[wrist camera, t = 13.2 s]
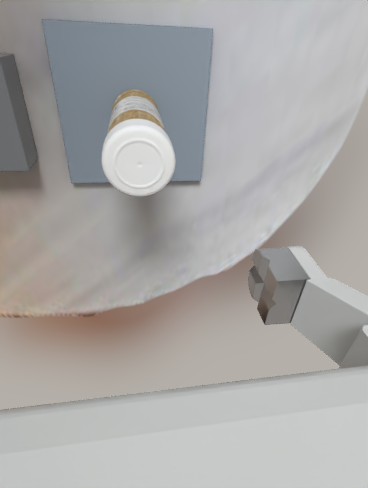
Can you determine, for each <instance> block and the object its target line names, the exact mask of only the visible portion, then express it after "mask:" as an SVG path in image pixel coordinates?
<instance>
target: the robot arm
mask: <svg viewBox="0 0 368 488" xmlns="http://www.w3.org/2000/svg"><path fill="white" fill-rule="evenodd" d="M252 261H253V263H254V266H253V267H252V268H251V269H250V271H249V276H248V286H249V290H250V294H251V296H252V298H253V299H255V300H256V301H257V302H259V303H258V308H257V309H258V311H259V313H260V316H261V318H262V320H263V322H264V324H265V325H270V324H285V323H291V325H292V326H293V327H294V328H295V329H297V330H298V331H299V332H300V333H301V334H303V335H304V336H305V337H306V338H307V339H309V340H310V341H311V342H312V343H313V344H315V345H316V346H317V347H318V348H319V349H320V350H322V351H323V352H324V353H325V354H326V355H328V356H329V357H330V358H331V359H332V360H334V361H335V362H336V363H337V364H338V365H340V367H339V369H332V370H324V371H316V372H308V373H300V374H291V375H283V376H276V377H267V378H258V379H251V380H242V381H235V382H226V383H218V384H210V385H202V386H194V387H186V388H177V389H169V390H161V391H153V392H144V393H137V394H128V395H120V396H111V397H104V398H95V399H87V400H78V401H71V402H62V403H53V404H45V405H37V406H30V407H20V408H13V409H4V410H0V488H368V296H366V295H364V294H362V293H360V292H358V291H356V290H355V289H353V288H351V287H349V286H347V285H345V284H343V283H341V282H339V281H337V280H335V279H333V278H327V277H326V275H325V274H324V273H323V271H322V270H321V269H320V268H319V267H318V265H317V264H316V263H315V261H314V260H313V259H312V258H311V256H310V255H309V254H308V252H307V251H306V250H305V249H304V248H303V247H301V246H293V247H285V248H271V249H255V251H254V253H253V256H252Z"/></svg>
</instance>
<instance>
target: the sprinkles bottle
mask: <svg viewBox="0 0 368 488" xmlns="http://www.w3.org/2000/svg"><path fill="white" fill-rule="evenodd" d="M175 164H176V159H175V153H174V149H173V146H172V143H171V141H170V138H169V137H168V135H167V134H166V132H165V130H164V126H163V123H162V120H161V117H160V114H159V111H158V108H157V105H156V103H155V101H154V100H153V98H152V97H151V96H149V95H148V94H147V93H145V92H143V91H141V90H136V89H133V90H127V91H125V92H123V93H121V94H120V95H119V96H118V97H117V98H116V100H115V101H114V104H113V106H112V114H111V118H110V123H109V128H108V133H107V136H106V138H105V141H104V144H103V149H102V168H103V171H104V174H105V176H106V177H107V179H108V181H109V182H110V183H111V184H112V185H113V186H114V187H115V188H116V189H118V190H119V191H121V192H123V193H125V194H128V195H131V196H137V197H140V196H148V195H152V194H154V193H156V192H158V191H160V190H161V189H163V188H164V187H165V186H166V185H167V184H168V182H169V181H170V180H171V178H172V176H173V173H174V170H175Z"/></svg>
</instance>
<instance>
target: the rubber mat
mask: <svg viewBox="0 0 368 488" xmlns="http://www.w3.org/2000/svg"><path fill="white" fill-rule="evenodd" d="M42 23H43V29H44V34H45V40H46V45H47V51H48V56H49V62H50V67H51V73H52V79H53V84H54V90H55V95H56V101H57V106H58V112H59V117H60V123H61V128H62V134H63V139H64V145H65V150H66V156H67V161H68V167H69V172H70V178H71V183H103V182H109V181H108V179H107V177H106V176H105V174H104V171H103V168H102V149H103V144H104V141H105V138H106V136H107V133H108V128H109V123H110V118H111V114H112V106H113V104H114V101H115V100H116V98H117V97H118V96H119V95H120V94H121V93H123V92H125V91H127V90H133V89H136V90H141V91H143V92H145V93H147V94H148V95H149V96H151V97H152V98H153V100H154V101H155V103H156V105H157V108H158V111H159V114H160V117H161V120H162V123H163V126H164V130H165V132H166V134H167V135H168V137H169V138H170V141H171V143H172V146H173V149H174V153H175V159H176V164H175V170H174V173H173V176H172V178H171V180H170V181H201V173H202V161H203V148H204V136H205V124H206V111H207V99H208V86H209V74H210V61H211V49H212V36H213V29H211V28H192V27H174V26H155V25H137V24H118V23H99V22H81V21H62V20H44V19H42Z"/></svg>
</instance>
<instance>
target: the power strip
mask: <svg viewBox="0 0 368 488" xmlns="http://www.w3.org/2000/svg"><path fill="white" fill-rule="evenodd" d="M37 158H38V156H37V152H36V147H35V143H34V139H33V135H32V131H31V126H30V122H29V118H28V114H27V109H26V105H25V101H24V97H23V93H22V88H21V84H20V80H19V76H18V72H17V67H16V63H15V59H14V55H13V54H0V171H29V170H30V168H31V167H32V165H33V164H34V163H35V161H36V160H37Z"/></svg>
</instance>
